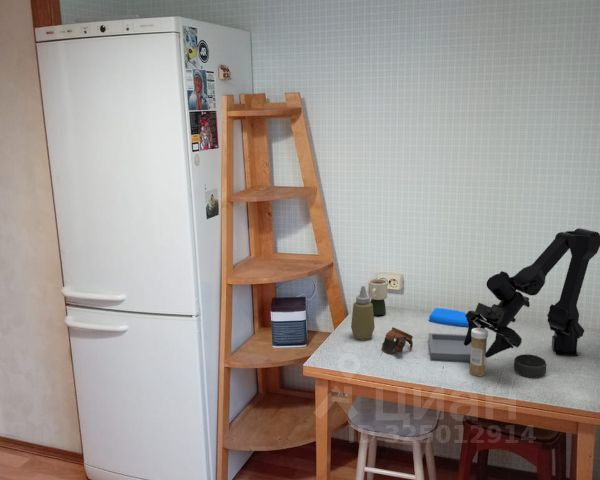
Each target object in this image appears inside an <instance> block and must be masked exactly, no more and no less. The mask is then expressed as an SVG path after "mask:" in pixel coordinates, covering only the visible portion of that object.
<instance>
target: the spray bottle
mask: <svg viewBox="0 0 600 480" xmlns="http://www.w3.org/2000/svg"><path fill="white" fill-rule="evenodd" d="M466 314H467V312H464V311H460V310H455V309H451V308H450V309H448V308H441V307H436V308H434V309H433V311H432V312H431V313H430V314H429V316H428V318H429V319H428V320H429V322H430V323H431V322H432V323H436V324H440V325H446V326H452V325H453V327H460V326H461V328H462V327H463V328H468V327H469V325H468V321H467V318H466V317H465V315H466ZM490 327H491V326H490ZM496 330H497V329H496Z"/></svg>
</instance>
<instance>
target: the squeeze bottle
mask: <svg viewBox="0 0 600 480" xmlns="http://www.w3.org/2000/svg"><path fill="white" fill-rule="evenodd" d="M374 316H375V315H374V314H373V304H372V303H371V298H370V297H369V296H368V293H367V291H366V286H363V285H362V286H361V287H360V290H359V295H357V296H355V302H353V306H352V313H351V323H350V328H351V332H352V334H353V337H354V338H355V339H357V340H361V341H363V340H365V341H366V340H367V341H368V340H370V339H371V338H372V336H373V333H374V332H375V331H374V330H375V326H376V325H375V317H374Z"/></svg>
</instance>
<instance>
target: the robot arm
mask: <svg viewBox="0 0 600 480" xmlns="http://www.w3.org/2000/svg"><path fill="white" fill-rule="evenodd" d="M599 250H600V233H599V232H597V231H595V230H589V229H587V228H586V229H585V228H580V227H579V228H576V229H575V230H565V231H560V232H558V233H556V235H555V237H554V239H553V240H552V242H551V243H550V244H549V245H548V246H547V247H546V248H545V249H544V250H543V251H542V253H541V254H540V255H539V256H538V257H537V258H536V260H535V261H534V262H533V263H531V264H530V265H528V266H526V267H523V268H522V269H520V270H519V271H518V272H517V273H516V274H515V275H513V276H510V275H509V273H507V272H506V271H503V270H502V271H500V272H499V273H497V274H493V275H492V276H490V277H489V278H488V279H487V281H486V287H487V290H489V291H490V292H491V293H492V295H493V296H494V297H495V298H496V299H497V300H498V301H499V303H498V304H495V303H494V304H492V305H491V306H489V305H487V304H483V303H481V302H478V303H477V305H476V309H475V310H468V311H467V312H466V315H465V317H466V318H467V321H468V325H469V327H467V332H466V334H465V335H466V338H465V341H464V345H465V346H467V345H468V344H470V343H471V341H472V337H471V330H472V329H473V328H483V329H486V330H487V329H488V330H490V331H491V332H494V333H495V339H494V341H493V342H492V343H491V345H490V347H489V348H488V350H486V354H485V357H486V359H488V358H491V357H492V356H494V355H497V354H498V353H501V352H502V351H506V350H509V349H510V348H511V349H513V348H514V347H515V348H517V349H518V348H519V346H521V345H522V336H520V335H519V334H518V333H517V332H516V331H515V330H514V329H513V328H511V327H509V324H510V323H515V322H516V321H517V319H516V318H515V317H516V316H517V314H518V313H519V312H520V311H521V309H522V308H523V306H524V307H527V308H530V305H531V304H530V301H529V300H530V297H527V296H525V294H526V295H528V296H536V295H538V294H539V293H540V291H541V290H542V288H543V287H544V286H545V284H546V279H547V278H546V277H547V275H548V274H549V272H551V270H552V269H554V267H555V266H556V265H557V264H558V262H560V260H561V259H562V258H563V257H564V255H565V254H566V253H568V251H570V254H571V258H570V262H569V265H568V268H567V272H566V276H565V279H564V283H563V286H562V288H561V289H562V290H561V293H560V297H559V300H558V301H557V302H556V303H555V304H550V306H549V309H548V310H549V311H548V313H547V315H546V317H547V323H548V326H549V330H550V331H553V333H554V335H552V336H551V345H550V346H551V350H552V351H554V354H556V355H557V356H573V357H575V356H576V357H577V356H579V353H578V352H577V351H578V350H577V349H578V340H579V339H580V338H581V337H583V336H584V333H585V329H584V327H582V325H581V324H580V323H579V319H580V313H579V312H580V311H579V309H578V301H579V299H580V298H579V297H580V294H581V291H582V287H583V283H584V280H585V275H586V274H587V273H586V272H587V269H588V267H589V262H590V260H591V259H592V258H594V256H596V255H597V253H598V252H599ZM522 293H523V294H524V295H523V294H522ZM490 326H491V327H490ZM496 329H497V330H496Z"/></svg>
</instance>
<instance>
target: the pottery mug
mask: <svg viewBox="0 0 600 480" xmlns="http://www.w3.org/2000/svg"><path fill="white" fill-rule="evenodd" d="M413 338H414V336H413V335H411V334H409V333H407V332H405V331H404V330H401V329H399V328H396V327H394V326H393V327H392V328H391V330H388V332H386V334H385V337H384V340H383V342H382V344H381V350H382V351H384V352H385V353H387V354H389V355H393V353H396V354H402V352H403V350H404V347H405V346H406V344H409V349H410V350H412V349H413V347H414V346H413V345H414V344H413ZM406 342H407V343H406Z"/></svg>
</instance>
